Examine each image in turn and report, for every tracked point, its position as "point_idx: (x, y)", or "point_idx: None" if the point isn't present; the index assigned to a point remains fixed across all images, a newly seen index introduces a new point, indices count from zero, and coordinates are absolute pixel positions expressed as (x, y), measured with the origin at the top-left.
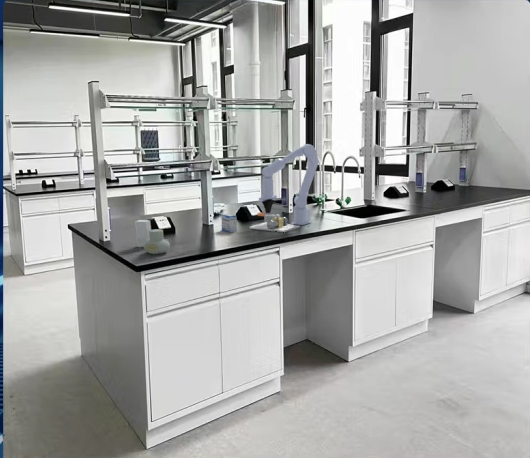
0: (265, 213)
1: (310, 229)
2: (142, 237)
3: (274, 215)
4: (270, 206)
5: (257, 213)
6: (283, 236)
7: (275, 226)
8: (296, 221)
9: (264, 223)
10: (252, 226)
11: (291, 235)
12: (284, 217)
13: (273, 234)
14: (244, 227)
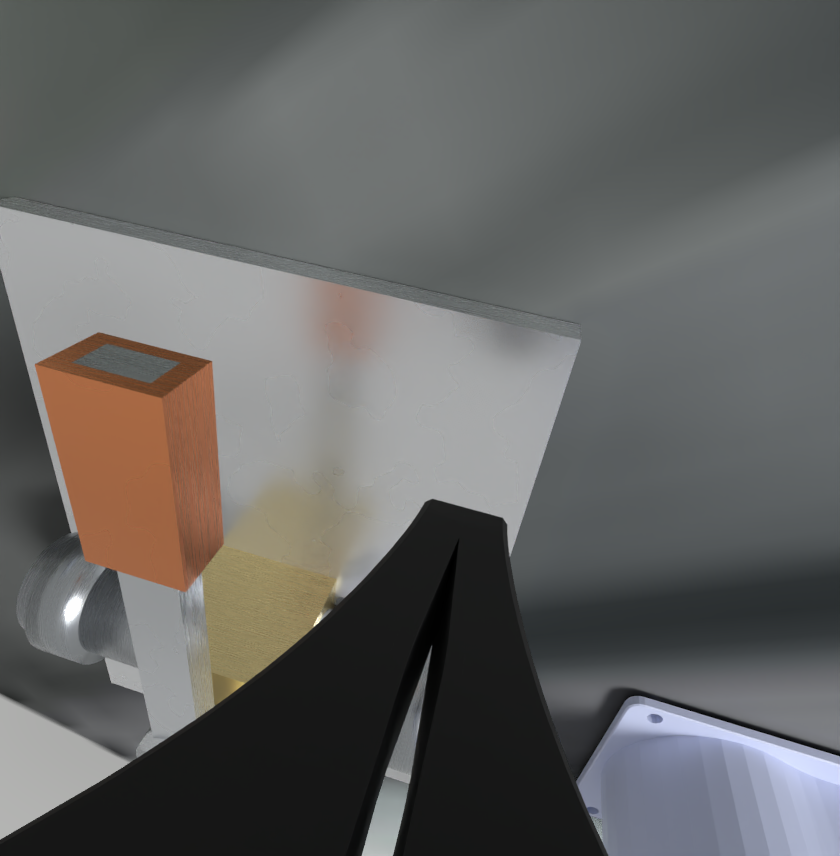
0: (154, 577)
1: (377, 827)
2: None
3: (156, 725)
4: (399, 833)
5: (43, 361)
6: (13, 676)
7: None
8: (610, 789)
9: (385, 359)
10: (27, 255)
11: (83, 719)
12: (398, 769)
13: (3, 601)
14: (5, 18)
